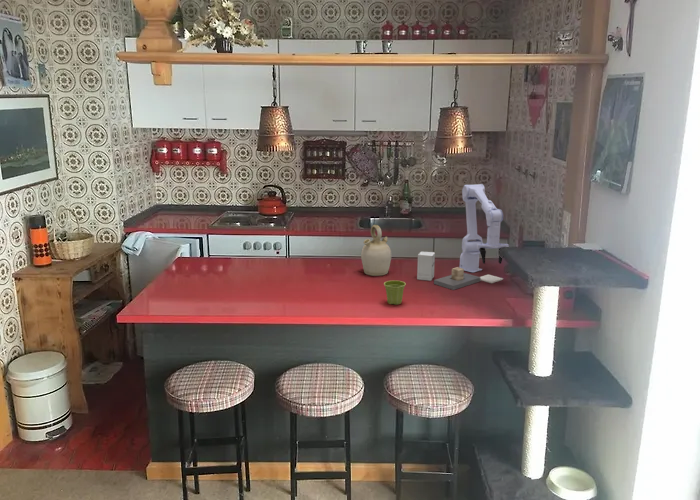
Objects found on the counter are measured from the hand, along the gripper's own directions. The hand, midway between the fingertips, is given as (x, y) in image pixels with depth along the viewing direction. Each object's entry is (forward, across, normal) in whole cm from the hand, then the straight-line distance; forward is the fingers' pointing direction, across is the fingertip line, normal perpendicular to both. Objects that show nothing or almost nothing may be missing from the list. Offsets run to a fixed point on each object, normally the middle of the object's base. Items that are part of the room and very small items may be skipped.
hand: (491, 263), depth 280 cm
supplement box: (+10, -30, +8) cm, 33 cm away
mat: (+10, +1, +5) cm, 11 cm away
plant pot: (+10, -48, -27) cm, 56 cm away
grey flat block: (+10, -16, 0) cm, 19 cm away
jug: (+10, -54, +18) cm, 58 cm away
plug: (+10, -16, 0) cm, 19 cm away
